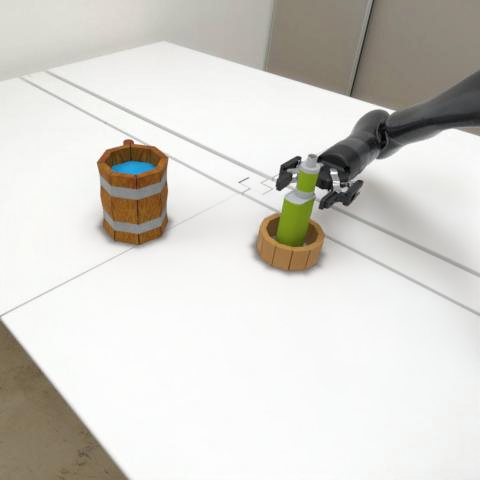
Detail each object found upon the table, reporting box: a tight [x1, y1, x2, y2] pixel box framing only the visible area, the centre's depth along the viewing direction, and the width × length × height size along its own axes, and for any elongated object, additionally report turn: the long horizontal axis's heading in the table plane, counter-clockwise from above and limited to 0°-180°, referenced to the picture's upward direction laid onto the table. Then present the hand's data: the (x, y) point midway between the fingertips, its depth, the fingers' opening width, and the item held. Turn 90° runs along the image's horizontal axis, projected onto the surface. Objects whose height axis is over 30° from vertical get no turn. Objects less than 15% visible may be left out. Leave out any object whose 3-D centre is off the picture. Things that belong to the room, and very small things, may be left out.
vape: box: [275, 153, 320, 247], centre depth 82 cm, size 4×6×20 cm, turn 128°
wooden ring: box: [256, 212, 326, 272], centre depth 86 cm, size 12×12×5 cm
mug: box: [96, 138, 169, 246], centre depth 92 cm, size 20×14×15 cm
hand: (299, 195), depth 80 cm, fingers open, 8 cm apart
